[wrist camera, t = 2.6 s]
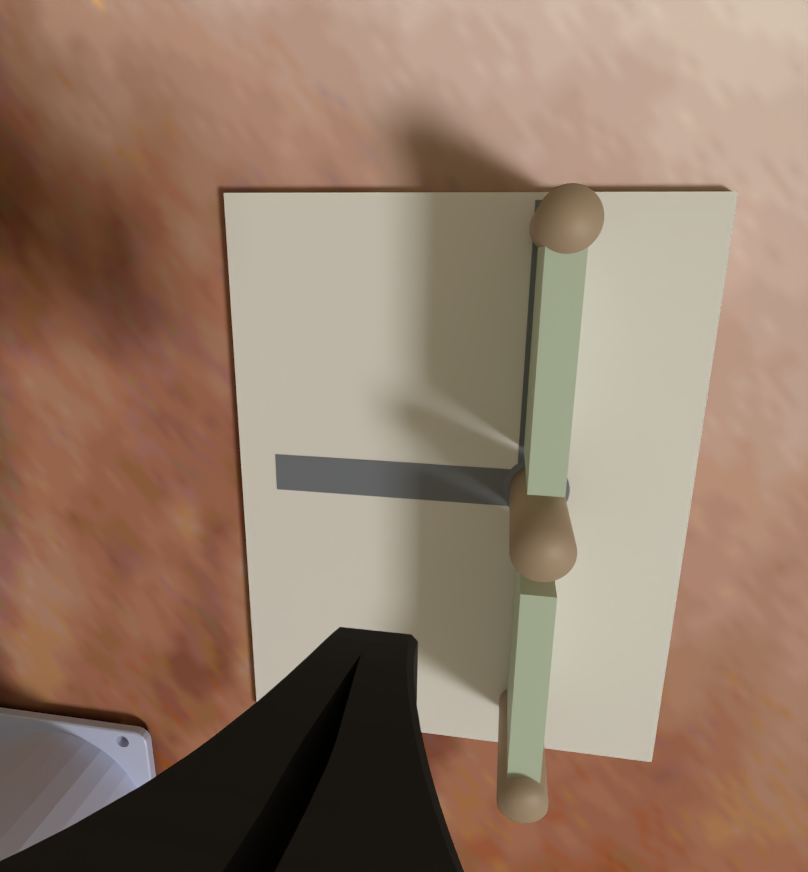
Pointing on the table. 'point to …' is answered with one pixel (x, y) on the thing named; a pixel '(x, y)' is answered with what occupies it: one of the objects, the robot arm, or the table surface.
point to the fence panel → (526, 703)
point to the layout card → (469, 439)
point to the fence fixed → (552, 383)
